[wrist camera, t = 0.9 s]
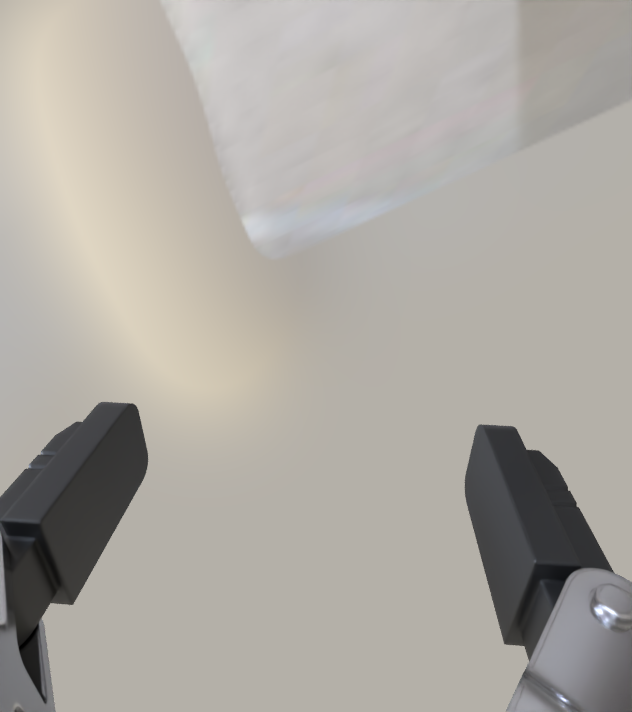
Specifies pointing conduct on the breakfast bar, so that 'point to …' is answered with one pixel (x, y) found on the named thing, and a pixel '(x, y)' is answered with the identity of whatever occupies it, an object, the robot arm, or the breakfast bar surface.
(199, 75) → the breakfast bar surface
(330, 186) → the breakfast bar surface
